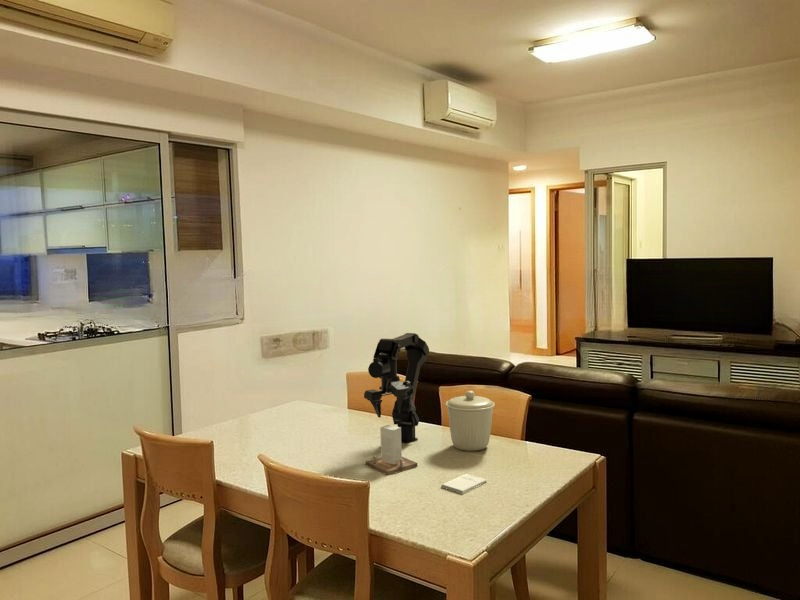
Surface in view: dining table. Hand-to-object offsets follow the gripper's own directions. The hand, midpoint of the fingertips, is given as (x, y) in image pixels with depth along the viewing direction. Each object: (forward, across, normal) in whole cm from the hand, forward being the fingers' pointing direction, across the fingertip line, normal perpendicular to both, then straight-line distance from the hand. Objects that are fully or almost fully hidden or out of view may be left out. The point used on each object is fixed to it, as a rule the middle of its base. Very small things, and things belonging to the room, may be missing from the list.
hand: (389, 415), depth 223 cm
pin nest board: (+13, -9, -14) cm, 21 cm away
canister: (+13, +25, -16) cm, 33 cm away
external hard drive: (+14, -2, -42) cm, 44 cm away
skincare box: (+12, -9, -13) cm, 20 cm away
